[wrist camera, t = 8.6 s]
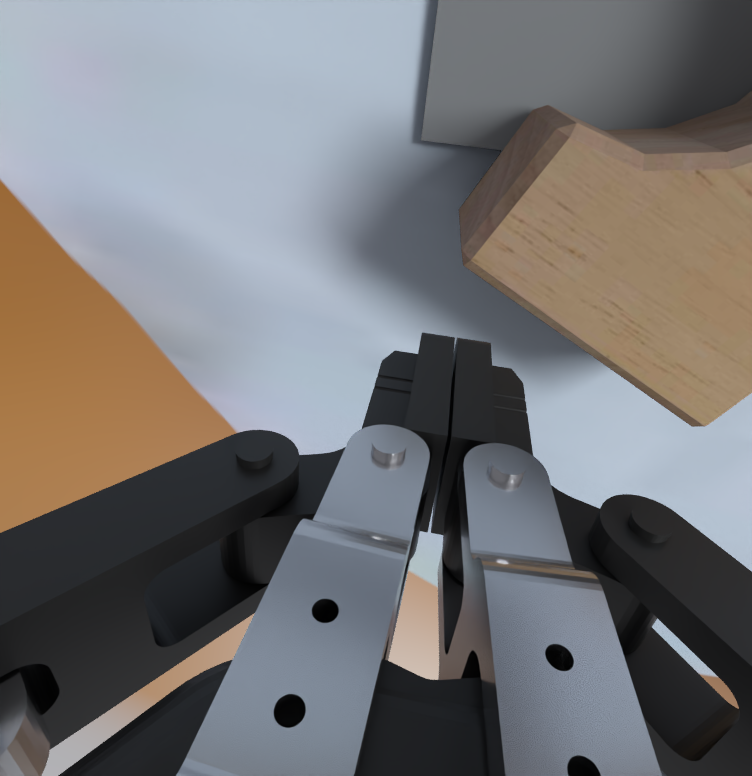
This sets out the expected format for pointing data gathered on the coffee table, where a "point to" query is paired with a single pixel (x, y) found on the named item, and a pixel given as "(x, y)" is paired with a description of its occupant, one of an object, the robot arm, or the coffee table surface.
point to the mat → (583, 64)
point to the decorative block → (629, 247)
